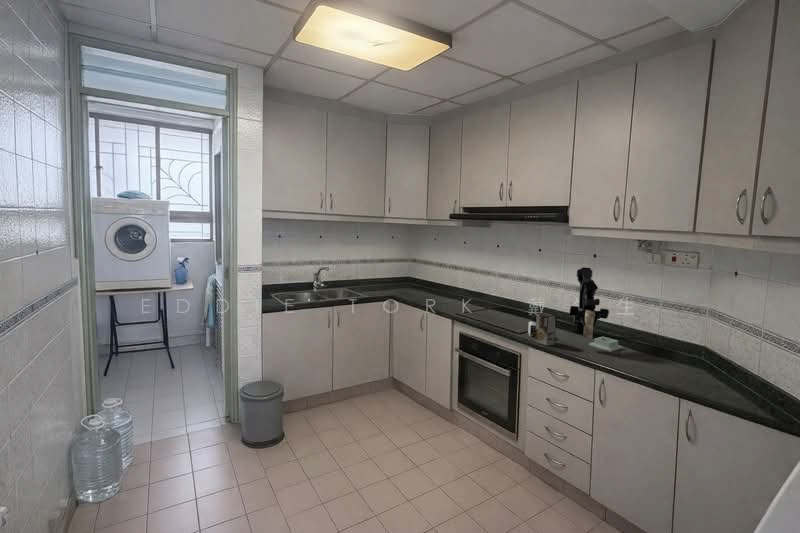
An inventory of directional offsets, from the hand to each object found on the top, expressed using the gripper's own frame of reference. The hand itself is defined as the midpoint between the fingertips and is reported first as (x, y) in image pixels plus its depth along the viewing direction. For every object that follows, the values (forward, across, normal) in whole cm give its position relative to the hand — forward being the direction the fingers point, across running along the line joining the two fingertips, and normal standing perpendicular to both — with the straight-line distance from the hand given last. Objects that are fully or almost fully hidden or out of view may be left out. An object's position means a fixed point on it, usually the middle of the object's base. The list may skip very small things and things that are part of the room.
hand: (589, 325), depth 209 cm
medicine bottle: (-3, -26, +22) cm, 34 cm away
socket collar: (+2, +11, +17) cm, 20 cm away
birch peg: (+4, 0, +6) cm, 7 cm away
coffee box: (+6, -21, +13) cm, 25 cm away
